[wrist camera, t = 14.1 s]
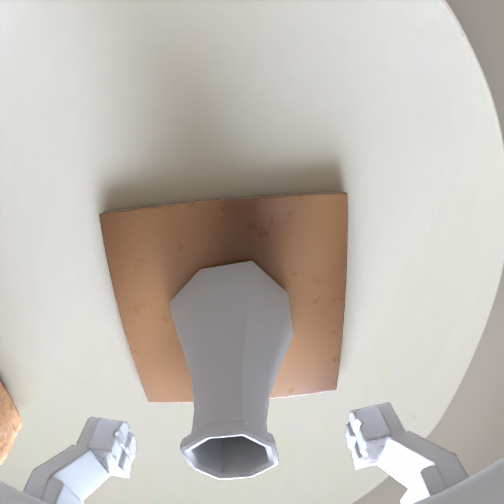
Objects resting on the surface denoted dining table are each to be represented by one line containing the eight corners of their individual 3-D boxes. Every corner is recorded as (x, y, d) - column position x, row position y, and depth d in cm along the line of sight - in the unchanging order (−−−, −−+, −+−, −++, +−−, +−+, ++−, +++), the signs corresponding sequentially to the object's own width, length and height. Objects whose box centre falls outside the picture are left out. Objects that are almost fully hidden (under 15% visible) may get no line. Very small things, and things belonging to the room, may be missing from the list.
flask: (259, 237, 16) (288, 342, 7) (310, 336, 18) (360, 465, 9) (149, 294, 17) (80, 417, 8) (211, 379, 19) (201, 509, 10)
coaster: (344, 191, 16) (347, 192, 16) (334, 384, 21) (336, 390, 20) (102, 212, 16) (98, 213, 16) (149, 397, 20) (147, 402, 20)
